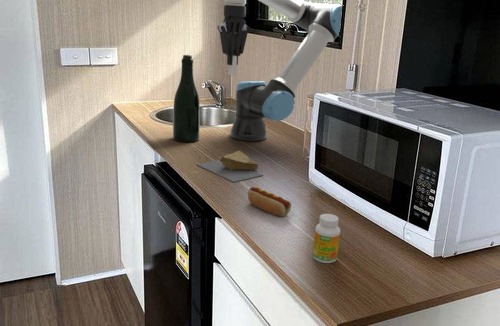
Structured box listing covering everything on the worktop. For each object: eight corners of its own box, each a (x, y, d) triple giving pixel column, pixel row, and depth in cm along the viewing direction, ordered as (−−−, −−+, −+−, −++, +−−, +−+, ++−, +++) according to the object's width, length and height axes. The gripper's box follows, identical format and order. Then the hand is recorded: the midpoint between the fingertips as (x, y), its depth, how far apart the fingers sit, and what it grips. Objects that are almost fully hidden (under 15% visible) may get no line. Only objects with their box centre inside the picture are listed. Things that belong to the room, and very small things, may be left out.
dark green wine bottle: (192, 135, 201) (193, 53, 191) (203, 141, 193) (206, 56, 183) (168, 137, 196) (168, 53, 186) (179, 144, 187) (180, 56, 177)
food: (242, 204, 134) (243, 187, 133) (257, 199, 138) (258, 183, 137) (280, 221, 125) (281, 203, 124) (294, 215, 129) (295, 198, 127)
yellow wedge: (258, 164, 157) (238, 142, 159) (238, 182, 157) (218, 159, 159) (261, 169, 168) (242, 148, 170) (243, 186, 168) (224, 165, 170)
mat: (224, 159, 172) (224, 158, 172) (262, 175, 158) (263, 174, 157) (196, 165, 164) (196, 164, 164) (234, 182, 150) (234, 181, 150)
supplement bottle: (314, 263, 105) (319, 222, 102) (310, 251, 110) (314, 211, 107) (339, 264, 105) (344, 223, 102) (334, 252, 110) (338, 212, 107)
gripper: (226, 4, 160) (223, 76, 167) (256, 6, 168) (252, 74, 175) (213, 3, 165) (210, 73, 172) (242, 5, 173) (239, 72, 181)
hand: (232, 74), depth 174 cm, fingers closed
